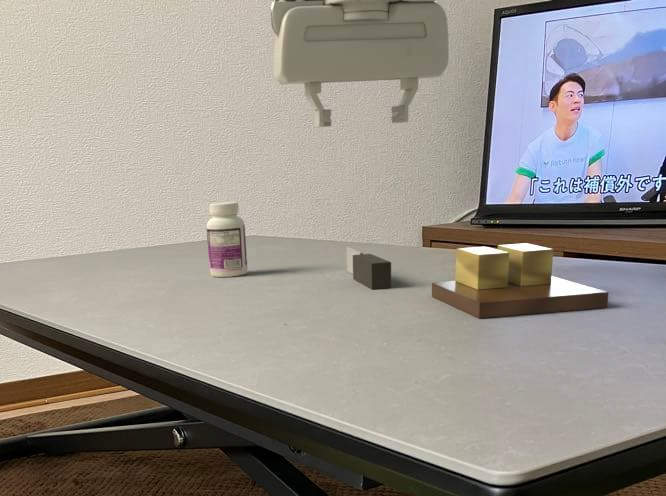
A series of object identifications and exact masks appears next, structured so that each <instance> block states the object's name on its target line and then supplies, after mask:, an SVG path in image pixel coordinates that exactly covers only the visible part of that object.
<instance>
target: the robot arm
mask: <svg viewBox="0 0 666 496" xmlns="http://www.w3.org/2000/svg"><path fill="white" fill-rule="evenodd" d="M437 1H439V0H283V1H280V0H273V2H272V4H271V6H270V7H271V8H270V24H271V28H272V31H273V33H274V34H275V37H274V48H273V76H274V78H275V80H276V81H277V83H278V84H279V85H283V86H284V85H304V96H305V97H306V100H307V101H308V103H309V105H310V106H311V108H312V110H313V111H314V125H315V128H325V127H327V128H328V127H331V126H332V119H331V117H332V109H330V108H329V109H328V108H327V109H326V108H324V105H323V103H322V101H321V100H320V98H319V96H318V94H321V93H322V84H327V83H351V82H352V83H353V82H369V81H370V82H371V81H372V82H373V81H395V80H399V82H400V91H404V92H403V94H402V96H401V98H400V100H399V102H398V105H393V106H391V111H390V112H391V119H390V120H391V123H392V124H400V123H408V121H409V106H410V105H411V104H412V102H413V99H414V97H415V96H416V93H417V92H418V89H419V80H421V79H434V78H438V77H442V76H443V75H444V74H445V72H446V70H447V69H448V67H449V62H450V39H449V38H450V37H449V36H450V35H449V24H448V18H447V14H446V12H445V10H444V8H443V7H442V6H441V5H440V3H437Z"/></svg>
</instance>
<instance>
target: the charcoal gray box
mask: <svg viewBox="0 0 666 496" xmlns="http://www.w3.org/2000/svg"><path fill="white" fill-rule="evenodd" d="M346 272H348V273H349V274H351V275H352V279H353V280H354V281H356V282H358V283H360V284H362V285H363V286H365V287H367V288H368V289H371V290H382V289H391V288H392V262H391V261H389V260H386V259H384V258H382V257H379V256H377V255H375V254H372V253H364V252H362V251H360V250H357V249H355V248H352V247H350V246H347V247H346Z"/></svg>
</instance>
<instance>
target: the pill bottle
mask: <svg viewBox="0 0 666 496" xmlns="http://www.w3.org/2000/svg"><path fill="white" fill-rule="evenodd" d="M239 207H240V206H239V202H238V201H222V202H221V201H219V202H212V203H209V214H210V216H211V217H212V218H210V219H209V220H208V221H207V223H206V239H207V250H208V263H209V273H210V275H211V276H212V277H214V278H230V277H231V278H232V277H239V276H243V275H247V273H248V271H249V270H248V256H247V254H248V253H247V242H246V239H247V238H246V225H245V221H244V220H243V218H242V217H240V216H238V214H239V211H240V208H239Z"/></svg>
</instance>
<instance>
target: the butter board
mask: <svg viewBox="0 0 666 496" xmlns="http://www.w3.org/2000/svg"><path fill="white" fill-rule="evenodd" d="M553 260H554V248H550V247H545V246H542V245H541V246H540V245H537V244H532V243H528V242H524V243H512V244H510V243H509V244H499V245H497V249H496V248H492V247H489V246H483V245H482V246H474V247H473V246H472V247H471V246H470V247H459V248H456V249H455V278H454V280H449V281H448V280H447V281H435V282H432V283H431V297H432V298H434V299H436V300H438V301H440V302H443V303H445V304H447V305H450V306H451V307H454V308H456V309H458V310H460V311H462V312H463V313H467V314H468V315H471V316H473V317H475V318H478V319H491V318H492V319H493V318H503V317H515V316H525V315H527V316H528V315H538V314H539V315H540V314H548V313H560V312H561V313H563V312H572V311H584V310H585V311H586V310H595V309H596V310H597V309H608V302H609V293H610V292H609V291H606V290H603V289H598V288H596V287H593V286H589V285H584V284H582V283H578V282H574V281H571V280H567V279H563V278H560V277H557V276H554V275H553Z"/></svg>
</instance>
